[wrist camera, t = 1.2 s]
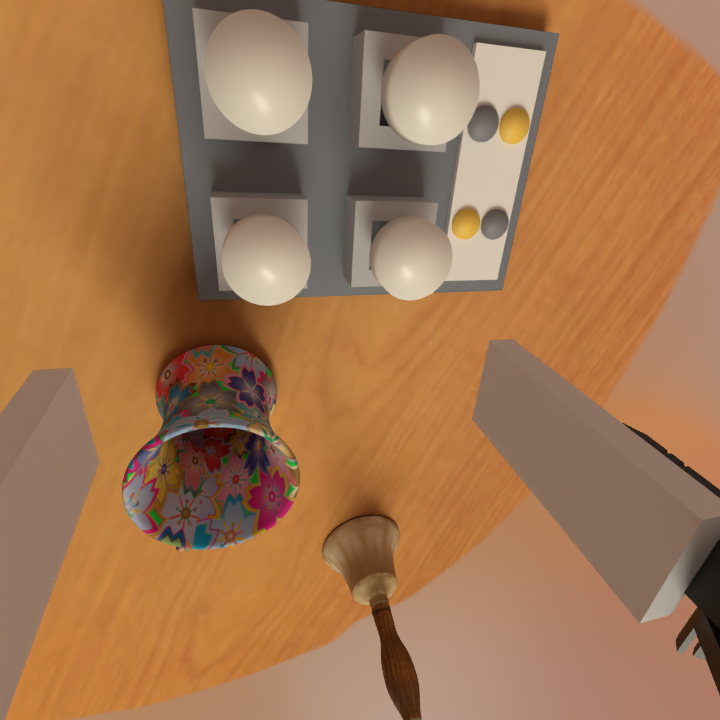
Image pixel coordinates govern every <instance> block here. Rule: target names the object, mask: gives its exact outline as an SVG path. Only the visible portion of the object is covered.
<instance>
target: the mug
mask: <svg viewBox="0 0 720 720" xmlns="http://www.w3.org/2000/svg"><path fill="white" fill-rule="evenodd" d="M276 400H277V387H276V382H275V379H274V377H273V375H272V373H271V371H270V370H269V368H268V367H267V366H266V365H265V364H264V363H263V362H262V361H261V360H260V359H259V358H258V357H256V356H255V355H253V354H252V353H250V352H248V351H246V350H243V349H240V348H237V347H233V346H228V345H207V346H201V347H198V348H194V349H192V350H189V351H187V352H185V353H183V354H181V355H180V356H178V357H177V358H175V359H174V360H173V361H172V362H171V363H170V364H169V365H168V366H167V367H166V368H165V370H164V371H163V372H162V374H161V376H160V378H159V380H158V383H157V387H156V404H157V408H158V411H159V413H160V415H161V417H162V418H163V425H162V427H161V429H160V431H159V433H158V434H157V435H156V436H155V437H154V438H153V439H152V440H150V441H149V442H148V443H147V444H145V445H144V446H143V447H142V448H141V449H140V450H139V451H138V452H137V454H136V455H135V456H134V457H133V459H132V460H131V462H130V464H129V465H128V467H127V470H126V472H125V475H124V479H123V483H122V498H123V503H124V506H125V509H126V511H127V513H128V515H129V516H130V518H131V519H132V521H133V522H134V523H135V524H136V525H137V526H138V527H139V528H140V529H141V530H142V531H143V532H145V533H146V534H148V535H149V536H151V537H153V538H154V539H157V540H159V541H161V542H164V543H166V544H169V545H173V546H176V549H177V551H179V552H187V551H189V550H190V549H216V548H223V547H228V546H232V545H236V544H239V543H242V542H245V541H248V540H250V539H253V538H255V537H257V536H259V535H260V534H262V533H264V532H266V531H267V530H268V529H270V528H271V527H273V526H274V525H275V524H276V523H278V522H279V521H280V520H281V519H282V518H283V517H284V515H285V514H286V513H287V512H288V510H289V509H290V508H291V506H292V504H293V503H294V500H295V498H296V496H297V493H298V489H299V484H300V472H299V467H298V463H297V460H296V458H295V456H294V454H293V452H292V451H291V449H290V448H289V447H288V445H287V444H286V443H285V442H284V441H283V440H282V439H281V438H280V437H279V436H277V435H276V434H275V433H274V432H273V430H272V428H271V426H270V423H269V418H270V416H271V414H272V412H273V410H274V408H275V404H276Z"/></svg>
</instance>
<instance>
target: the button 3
mask: <svg viewBox="0 0 720 720" xmlns="http://www.w3.org/2000/svg"><path fill="white" fill-rule="evenodd" d="M452 258H453V254H452V246H451V243H450V240H449V238H448V236H447V235H446V233H445V232H444V231H443V230H442V229H441V228H439V227H438V226H436V225H435V224H433V223H431V222H429V221H427V220H425V219H423V218H420V217H417V216H402V217H398V218H395V219H393V220H391V221H390V222H388V223H387V224H385V225H384V226H383V227H382V228H381V229H380V230H379V232H378V233H377V234H376V236H375V238H374V240H373V242H372V244H371V248H370V253H369V262H370V268H371V271H372V273H373V275H374V277H375V278H376V280H377V281H378V282H379V283H380V284H381V285H382V286H383V287H384V288H385V289H386V291H388V292H389V293H390V294H391V295H393V296H394V297H396V298H399V299H402V300H417V299H421V298H424V297H426V296H428V295H430V294H431V293H433V292H434V291H435V290H437V289H438V288H439V287H440V286H441V285H442V283H443V282H444V281H445V279H446V277H447V276H448V273H449V271H450V268H451V264H452Z"/></svg>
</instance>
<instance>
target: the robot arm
mask: <svg viewBox="0 0 720 720" xmlns="http://www.w3.org/2000/svg"><path fill="white" fill-rule="evenodd" d="M472 419H473V421H474V422H475V423H476V424H477V426H478V427H479V428H480V429H481V430H482V432H483V433H484V434H485V435H486V437H487V438H488V439H489V440H490V441H491V443H492V444H493V445H494V446H495V448H496V449H497V450H498V451H499V452H500V454H501V455H502V456H503V457H504V458H505V460H506V461H507V462H508V463H509V465H510V466H511V467H512V468H513V469H514V471H515V472H516V473H517V474H518V476H519V477H520V478H521V479H522V480H523V482H524V483H525V484H526V485H527V487H528V488H529V489H530V490H531V491H532V493H533V494H534V495H535V496H536V498H537V499H538V500H539V501H540V502H541V504H542V505H543V506H544V507H545V508H546V510H547V511H548V512H549V513H550V515H551V516H552V517H553V518H554V519H555V521H556V522H557V523H558V524H559V525H560V527H561V528H562V529H563V530H564V532H565V533H566V534H567V535H568V536H569V538H570V539H571V540H572V541H573V543H574V544H575V545H576V546H577V548H578V549H579V550H580V551H581V552H582V554H583V555H584V556H585V557H586V559H587V560H588V561H589V562H590V563H591V565H592V566H593V567H594V568H595V569H596V571H597V572H598V573H599V574H600V576H601V577H602V578H603V579H604V580H605V582H606V583H607V584H608V585H609V587H610V588H611V589H612V590H613V591H614V593H615V594H616V595H617V596H618V598H619V599H620V600H621V601H622V602H623V604H624V605H625V606H626V607H627V609H628V610H629V611H630V612H631V613H632V615H633V616H634V617H635V618H636V619H637V621H638V622H639V623H643V622H646V621H650V620H654V619H657V618H661V617H664V616H668V615H671V614H672V613H673V611H674V610H675V608H676V607H677V605H678V603H679V602H680V600H681V599H682V597H683V596H684V594H686V595H687V596H688V597H689V598H690V599H691V600H692V601H693V602H694V603H695V605H696V606H697V608H696V610H695V611H694V613H693V614H692V616H691V617H690V619H689V620H688V622H687V623H686V624H685V626H684V627H683V629H682V630H681V632H680V633H679V635H678V637H677V639H676V646H677V651H678V652H681V653H684V652H685V651H686V649H687V648H688V647H689V645H690V644H691V642H692V641H693V640H694V638H695V637H696V636H697V637H698V640H699V642H698V643H697V645H696V646H695V648H694V651H693V656H694V657H698V658H701V659H705V660H706V661H707V663H708V666H709V668H710V671H711V673H712V676H713V679H714V681H715V684H716V686H717V689H718V692H719V694H720V490H719V489H718V488H717V487H715V486H714V485H713V484H711V483H710V482H709V481H707V480H706V479H705V478H703V477H702V476H701V475H699V474H698V473H697V472H695V471H694V470H693V469H691V468H690V467H689V466H687V467H685V466H684V463H683V462H682V461H681V460H679V459H678V458H677V457H676V456H674V455H673V454H668V453H667V450H666V449H665V448H664V447H662V446H660V444H658V443H657V442H656V441H654V440H653V439H651V438H650V437H649V436H647V435H646V434H644V433H642V432H640V431H638V430H636V429H634V428H632V427H630V426H628V425H626V424H624V423H621V422H620V421H619V420H617V419H616V418H615V417H613V416H612V415H611V414H609V413H608V412H607V411H606V410H604V409H603V408H602V407H600V406H599V405H598V404H596V403H595V402H594V401H593V400H591V399H590V398H589V397H587V396H586V395H585V394H583V393H582V392H581V391H580V390H578V389H577V388H576V387H574V386H573V385H572V384H570V383H569V382H568V381H567V380H565V379H564V378H563V377H561V376H560V375H559V374H557V373H556V372H555V371H554V370H552V369H551V368H550V367H548V366H547V365H546V364H544V363H543V362H542V361H541V360H539V359H538V358H537V357H535V356H534V355H533V354H531V353H530V352H529V351H528V350H526V349H525V348H524V347H522V346H521V345H520V344H518V343H517V342H516V341H515V340H513V339H509V340H493V341H489V346H488V350H487V355H486V359H485V364H484V368H483V373H482V377H481V382H480V386H479V391H478V395H477V400H476V404H475V409H474V413H473V417H472ZM98 465H99V459H98V456H97V452H96V449H95V445H94V442H93V438H92V435H91V431H90V428H89V424H88V420H87V417H86V413H85V410H84V406H83V403H82V399H81V396H80V392H79V389H78V385H77V382H76V378H75V374H74V371H73V368H64V369H49V370H34V371H33V372H32V373H31V374H30V376H29V377H28V378H27V379H26V381H25V382H24V383H23V385H22V386H21V387H20V389H19V390H18V391H17V393H16V394H15V395H14V397H13V398H12V399H11V400H10V402H9V403H8V404H7V406H6V407H5V408H4V410H3V411H2V412H1V414H0V720H5V718H6V715H7V712H8V709H9V707H10V704H11V701H12V699H13V696H14V693H15V690H16V688H17V685H18V682H19V679H20V677H21V674H22V671H23V669H24V666H25V663H26V660H27V658H28V655H29V652H30V650H31V647H32V644H33V641H34V639H35V636H36V633H37V631H38V628H39V625H40V622H41V620H42V617H43V614H44V611H45V609H46V606H47V603H48V601H49V598H50V595H51V592H52V590H53V587H54V584H55V582H56V579H57V576H58V573H59V571H60V568H61V565H62V563H63V560H64V557H65V554H66V552H67V549H68V546H69V543H70V541H71V538H72V535H73V533H74V530H75V527H76V524H77V522H78V519H79V516H80V514H81V511H82V508H83V505H84V503H85V500H86V497H87V495H88V492H89V489H90V486H91V484H92V481H93V478H94V475H95V473H96V470H97V467H98Z"/></svg>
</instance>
